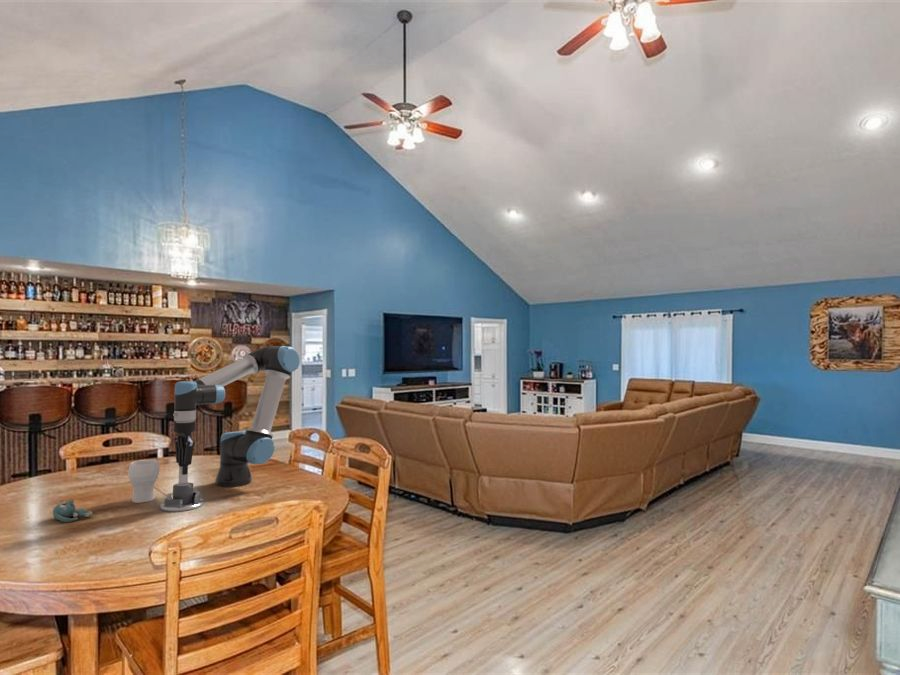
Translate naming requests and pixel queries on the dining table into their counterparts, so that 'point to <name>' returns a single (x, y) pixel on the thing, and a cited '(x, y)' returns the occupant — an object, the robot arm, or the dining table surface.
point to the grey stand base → (176, 504)
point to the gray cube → (183, 492)
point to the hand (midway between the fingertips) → (183, 482)
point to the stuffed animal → (69, 512)
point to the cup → (143, 479)
